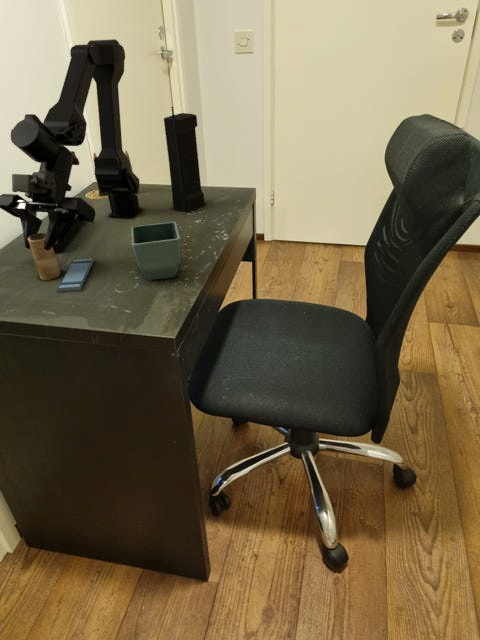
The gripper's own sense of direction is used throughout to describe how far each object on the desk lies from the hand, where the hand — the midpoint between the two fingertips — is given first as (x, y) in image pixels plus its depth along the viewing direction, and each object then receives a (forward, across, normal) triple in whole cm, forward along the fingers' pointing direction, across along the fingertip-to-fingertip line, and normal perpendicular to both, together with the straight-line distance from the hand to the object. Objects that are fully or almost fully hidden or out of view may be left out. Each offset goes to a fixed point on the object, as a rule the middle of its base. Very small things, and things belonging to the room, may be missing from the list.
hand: (36, 249), depth 91 cm
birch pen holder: (+4, 0, +6) cm, 7 cm away
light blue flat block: (+3, +6, +6) cm, 9 cm away
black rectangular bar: (-9, -7, +19) cm, 22 cm away
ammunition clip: (-30, -10, +40) cm, 51 cm away
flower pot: (0, +23, +9) cm, 24 cm away
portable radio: (-26, +15, +35) cm, 46 cm away
